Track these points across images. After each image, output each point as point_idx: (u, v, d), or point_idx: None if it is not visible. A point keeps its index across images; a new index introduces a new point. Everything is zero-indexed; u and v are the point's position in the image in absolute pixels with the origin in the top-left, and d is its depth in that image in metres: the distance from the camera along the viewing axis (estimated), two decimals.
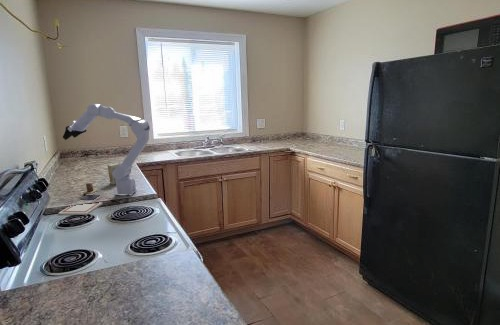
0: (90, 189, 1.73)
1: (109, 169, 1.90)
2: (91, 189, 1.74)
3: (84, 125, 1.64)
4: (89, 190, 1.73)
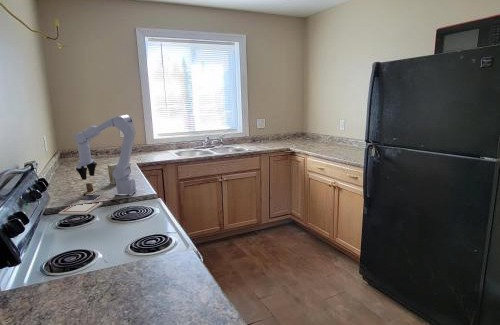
0: (90, 189, 1.73)
1: (109, 169, 1.90)
2: (91, 189, 1.74)
3: (86, 156, 1.68)
4: (89, 190, 1.73)
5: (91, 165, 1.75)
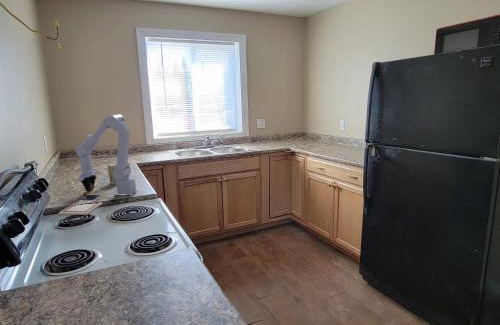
0: (90, 189, 1.73)
1: (109, 169, 1.90)
2: (91, 189, 1.74)
3: (88, 168, 1.70)
4: None
5: (91, 178, 1.75)
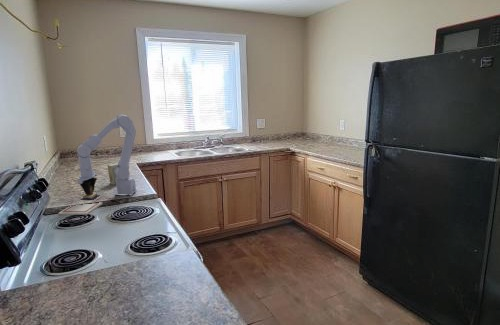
0: (90, 192, 1.63)
1: (109, 169, 1.90)
2: (91, 192, 1.63)
3: (88, 170, 1.59)
4: None
5: (91, 180, 1.64)
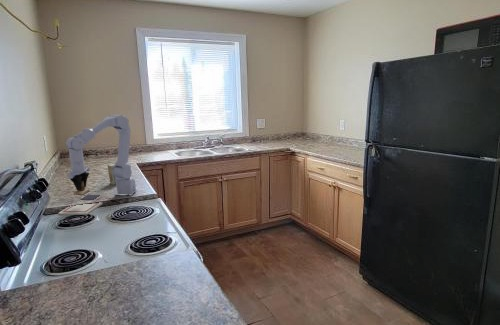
0: (81, 188, 1.52)
1: (109, 169, 1.90)
2: (82, 188, 1.53)
3: (79, 164, 1.49)
4: None
5: (82, 175, 1.54)
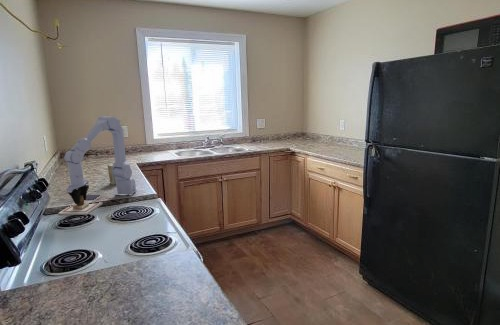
0: (80, 202, 1.50)
1: (109, 169, 1.90)
2: (81, 202, 1.51)
3: (78, 178, 1.47)
4: None
5: (82, 188, 1.52)
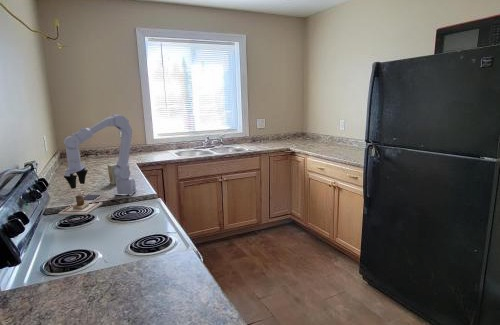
0: (80, 202, 1.50)
1: (109, 169, 1.90)
2: (81, 202, 1.51)
3: (76, 162, 1.53)
4: (79, 203, 1.50)
5: (81, 172, 1.60)
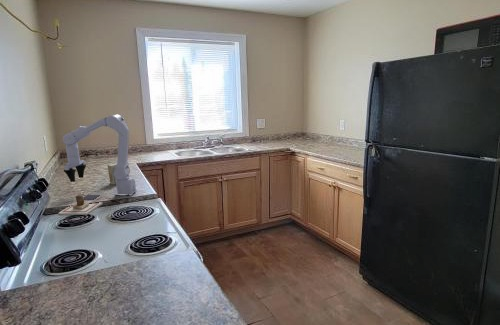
0: (80, 202, 1.50)
1: (109, 169, 1.90)
2: (81, 202, 1.51)
3: (75, 157, 1.65)
4: (79, 203, 1.50)
5: (80, 167, 1.71)
